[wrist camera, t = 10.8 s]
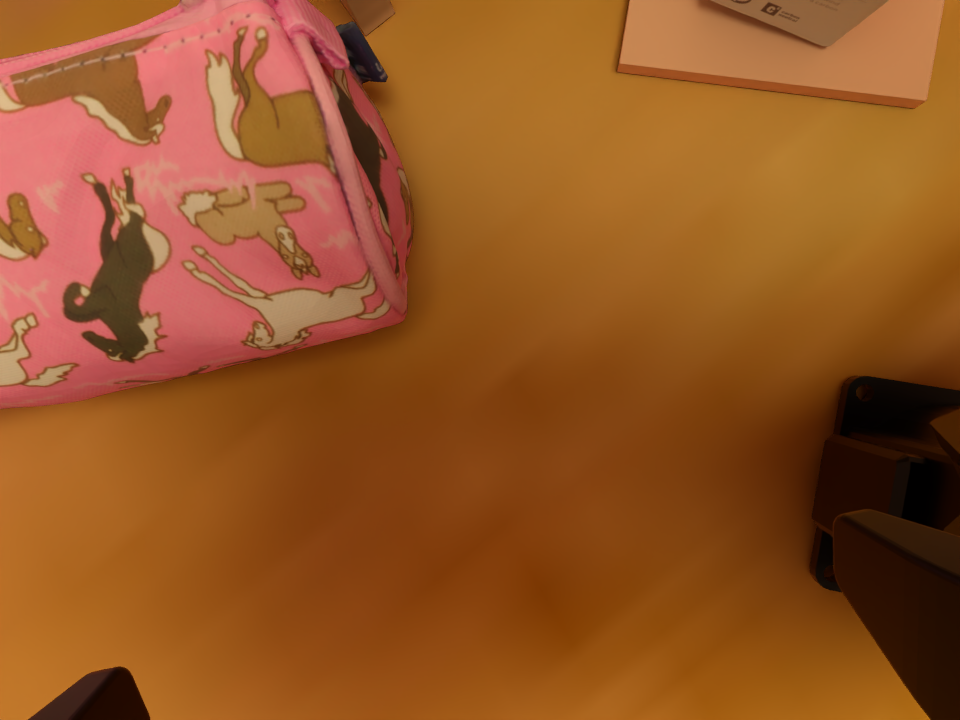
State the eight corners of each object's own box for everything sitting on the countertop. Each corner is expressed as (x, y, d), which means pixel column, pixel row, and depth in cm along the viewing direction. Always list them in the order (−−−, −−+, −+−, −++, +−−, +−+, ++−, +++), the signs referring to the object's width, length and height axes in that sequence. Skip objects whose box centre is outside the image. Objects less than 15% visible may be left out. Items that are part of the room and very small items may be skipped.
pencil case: (392, 51, 21) (286, -169, 12) (453, 326, 21) (391, 306, 12) (-179, 205, 23) (-628, 114, 14) (-126, 457, 23) (-543, 524, 14)
